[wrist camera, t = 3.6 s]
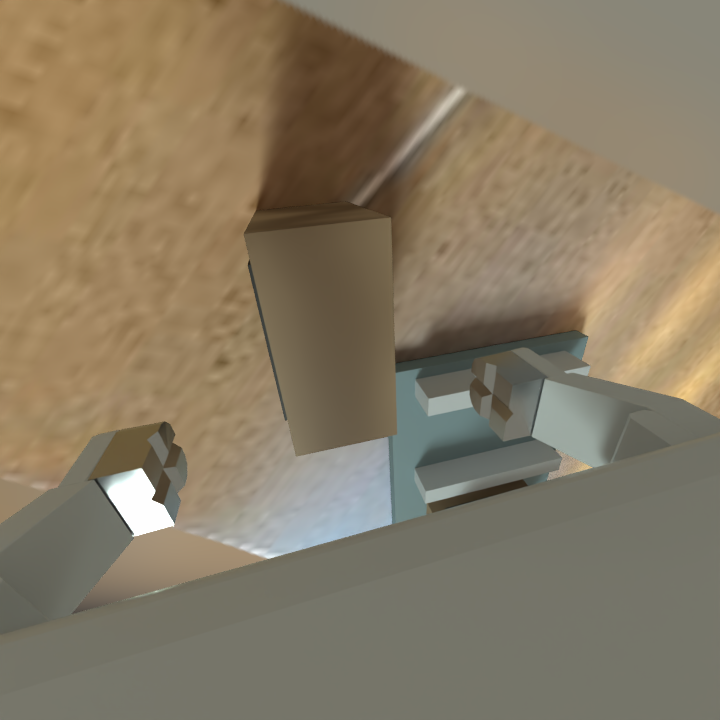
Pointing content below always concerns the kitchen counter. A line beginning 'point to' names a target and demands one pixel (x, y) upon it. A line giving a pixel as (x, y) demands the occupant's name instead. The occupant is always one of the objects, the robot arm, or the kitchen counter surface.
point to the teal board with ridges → (463, 428)
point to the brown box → (327, 319)
